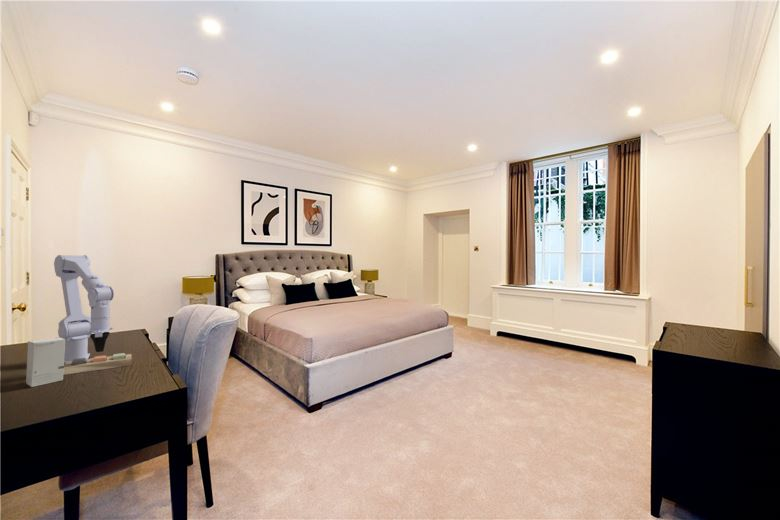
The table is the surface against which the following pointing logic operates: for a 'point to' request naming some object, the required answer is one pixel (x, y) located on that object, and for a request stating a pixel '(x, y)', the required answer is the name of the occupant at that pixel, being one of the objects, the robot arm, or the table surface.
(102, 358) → the key terracotta
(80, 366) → the keypad
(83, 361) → the key charcoal
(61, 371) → the skincare box
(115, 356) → the key sage
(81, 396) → the table surface
